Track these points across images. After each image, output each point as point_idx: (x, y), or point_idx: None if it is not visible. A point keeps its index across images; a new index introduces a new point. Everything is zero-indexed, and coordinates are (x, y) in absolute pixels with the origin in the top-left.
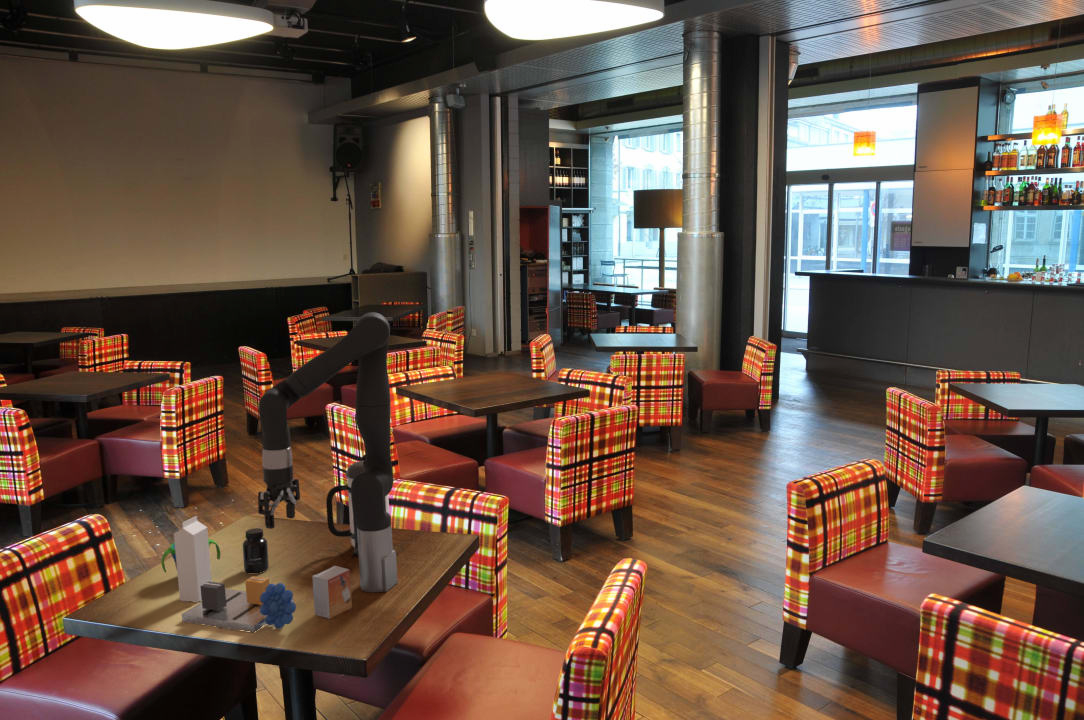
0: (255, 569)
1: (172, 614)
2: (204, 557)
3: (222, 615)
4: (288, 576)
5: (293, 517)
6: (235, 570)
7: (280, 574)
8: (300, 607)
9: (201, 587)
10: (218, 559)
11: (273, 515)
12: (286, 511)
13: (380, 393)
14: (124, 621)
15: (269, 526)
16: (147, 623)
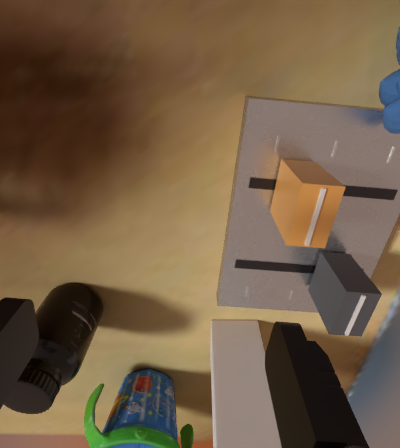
0: (94, 301)
1: (313, 333)
2: (237, 409)
3: (366, 234)
4: (76, 217)
5: (22, 299)
6: (95, 337)
7: (74, 243)
8: (256, 65)
9: (361, 331)
10: (103, 384)
11: (322, 432)
12: (9, 389)
13: None
14: (341, 379)
15: (319, 351)
16: (351, 348)
